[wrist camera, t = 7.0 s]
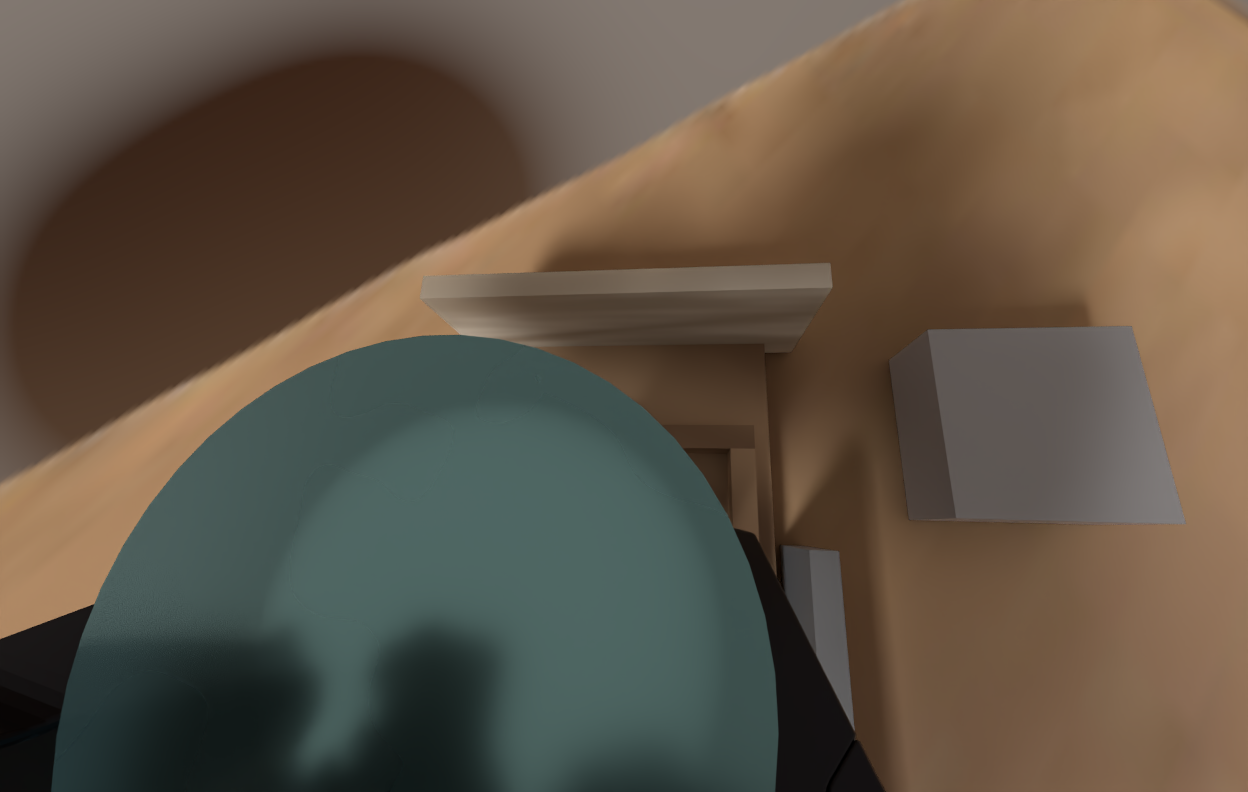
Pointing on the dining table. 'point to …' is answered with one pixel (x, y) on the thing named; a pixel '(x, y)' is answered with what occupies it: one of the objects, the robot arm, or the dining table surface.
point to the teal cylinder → (428, 597)
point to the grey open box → (820, 611)
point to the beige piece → (664, 351)
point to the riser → (1031, 428)
